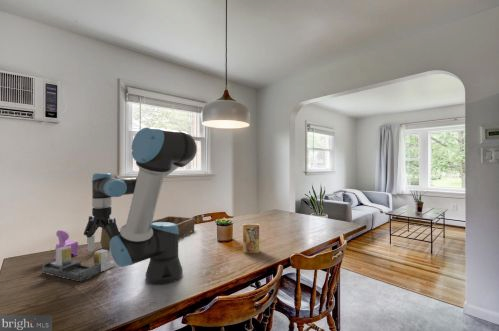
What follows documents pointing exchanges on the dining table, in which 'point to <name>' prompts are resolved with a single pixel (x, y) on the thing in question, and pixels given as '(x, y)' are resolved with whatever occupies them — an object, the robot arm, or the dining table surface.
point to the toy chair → (62, 238)
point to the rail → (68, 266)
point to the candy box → (250, 238)
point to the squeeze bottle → (105, 239)
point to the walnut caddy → (179, 224)
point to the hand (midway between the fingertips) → (101, 252)
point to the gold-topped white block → (102, 260)
